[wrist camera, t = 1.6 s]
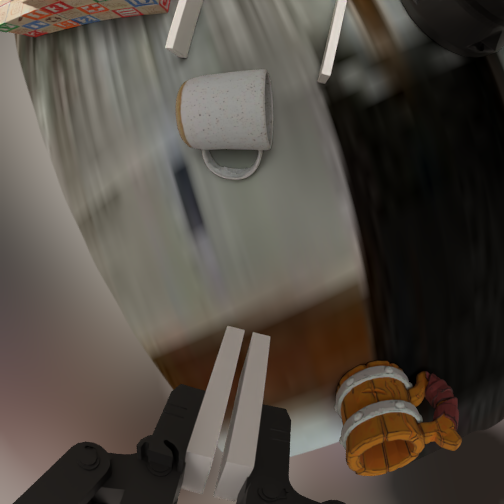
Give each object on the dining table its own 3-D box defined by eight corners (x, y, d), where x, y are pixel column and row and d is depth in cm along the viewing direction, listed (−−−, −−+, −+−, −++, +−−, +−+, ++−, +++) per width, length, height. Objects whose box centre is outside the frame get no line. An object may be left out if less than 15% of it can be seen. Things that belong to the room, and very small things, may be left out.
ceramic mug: (193, 83, 30) (168, 72, 23) (271, 77, 29) (266, 61, 22) (200, 179, 34) (177, 192, 27) (276, 176, 33) (272, 188, 26)
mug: (325, 371, 41) (333, 461, 27) (438, 337, 37) (481, 413, 23) (338, 418, 44) (346, 498, 30) (438, 388, 40) (468, 461, 26)
